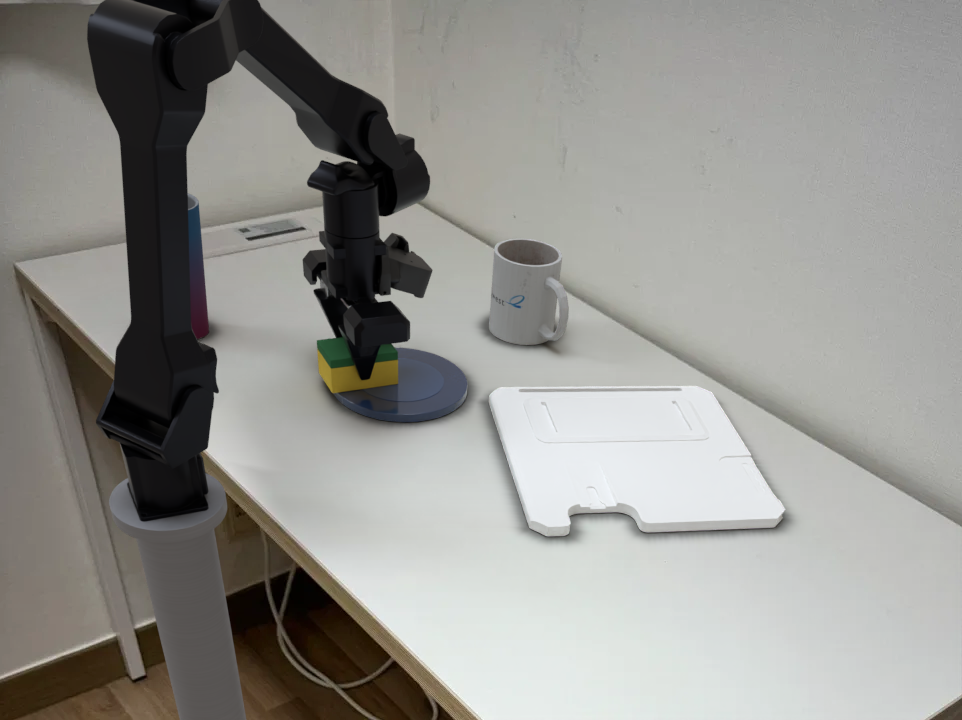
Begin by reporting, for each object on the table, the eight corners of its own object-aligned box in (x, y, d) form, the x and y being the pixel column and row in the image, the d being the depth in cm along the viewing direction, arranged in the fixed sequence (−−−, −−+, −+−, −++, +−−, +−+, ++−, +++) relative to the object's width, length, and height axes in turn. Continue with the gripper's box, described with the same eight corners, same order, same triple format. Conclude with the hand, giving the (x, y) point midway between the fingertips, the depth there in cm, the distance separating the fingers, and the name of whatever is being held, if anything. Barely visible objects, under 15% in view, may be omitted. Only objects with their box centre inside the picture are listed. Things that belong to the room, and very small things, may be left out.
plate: (358, 431, 109) (358, 423, 108) (313, 364, 118) (312, 355, 117) (488, 410, 115) (489, 402, 114) (436, 347, 124) (436, 340, 123)
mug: (477, 319, 130) (482, 241, 123) (533, 311, 134) (541, 235, 127) (521, 362, 124) (528, 282, 116) (579, 352, 127) (589, 274, 120)
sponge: (332, 393, 112) (330, 360, 109) (318, 372, 115) (316, 340, 112) (398, 384, 115) (398, 351, 112) (383, 364, 117) (382, 331, 115)
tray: (787, 526, 104) (791, 515, 103) (532, 537, 98) (533, 524, 97) (705, 394, 123) (708, 383, 122) (486, 396, 117) (487, 384, 116)
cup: (190, 313, 124) (170, 185, 113) (228, 331, 121) (211, 203, 110) (146, 329, 119) (121, 198, 109) (184, 349, 117) (162, 217, 106)
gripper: (458, 257, 100) (452, 397, 111) (392, 190, 111) (394, 324, 122) (353, 267, 96) (359, 412, 107) (296, 197, 107) (307, 335, 118)
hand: (357, 368), depth 114 cm, fingers closed on sponge, 5 cm apart
